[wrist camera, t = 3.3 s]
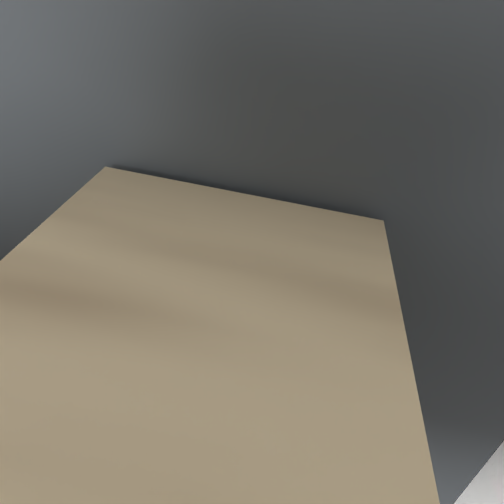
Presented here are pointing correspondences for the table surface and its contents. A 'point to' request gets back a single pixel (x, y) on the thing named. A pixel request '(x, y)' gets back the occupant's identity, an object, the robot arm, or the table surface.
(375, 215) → the board
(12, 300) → the stub
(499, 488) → the table surface
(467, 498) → the table surface
